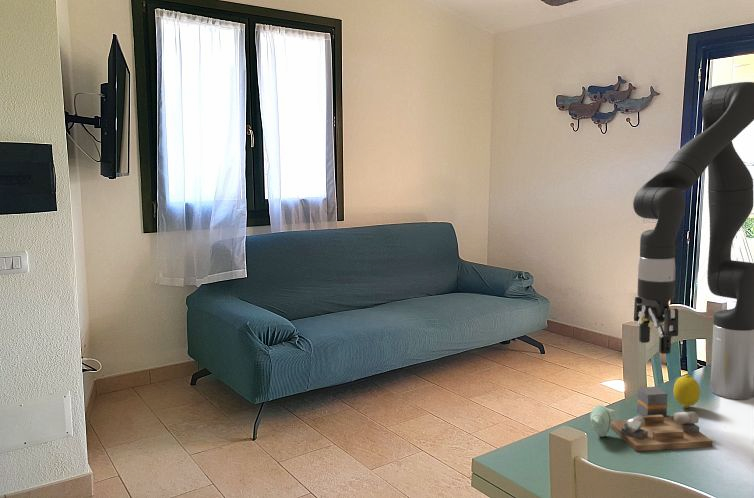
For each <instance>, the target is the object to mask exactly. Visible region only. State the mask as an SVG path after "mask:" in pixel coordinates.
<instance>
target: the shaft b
mask: <svg viewBox="0 0 754 498" xmlns="http://www.w3.org/2000/svg"><path fill="white" fill-rule="evenodd" d="M635 416H636V417H635ZM635 416H634V417H632V418H629V419H630V420H628V421H627V422H625V424H624V427H622V434H625V435H628V436H631V437H634V438H636V439H639V440H643V439H645V438H647V437H648V431H645V430H642V429H640V428H642V427H643V426H644V425H645V420H644V419H643V418H642V417H641V416H642V415H635Z"/></svg>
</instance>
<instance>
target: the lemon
mask: <svg viewBox="0 0 754 498" xmlns="http://www.w3.org/2000/svg"><path fill="white" fill-rule="evenodd" d="M673 397H674V399H675V400H676V402H677V403H679V404H680V405H681V406H683V407H684V409H685V408H686V409H687V408H688V409H689V407H693V406H694V405H696V404H697V403H698V401H699V400H700V397H701V388H700V384H699V383H698V381H697V379H695V378H693V377H691V376H690V375H689V374H685V375H682V376H681V377H678V378H677V379H676V380H675V382H674V384H673Z"/></svg>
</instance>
